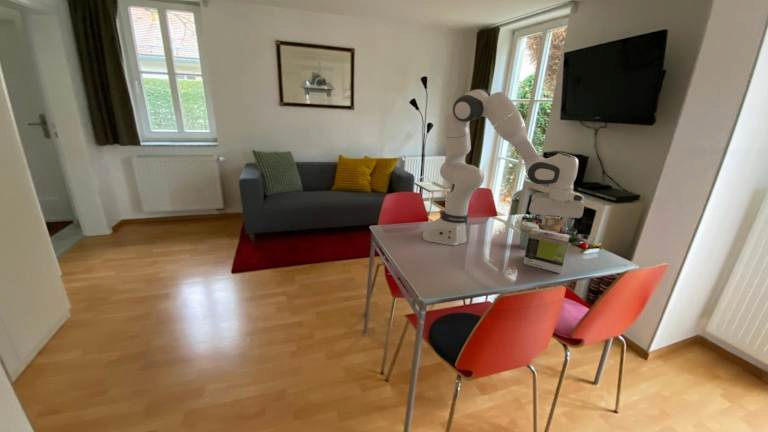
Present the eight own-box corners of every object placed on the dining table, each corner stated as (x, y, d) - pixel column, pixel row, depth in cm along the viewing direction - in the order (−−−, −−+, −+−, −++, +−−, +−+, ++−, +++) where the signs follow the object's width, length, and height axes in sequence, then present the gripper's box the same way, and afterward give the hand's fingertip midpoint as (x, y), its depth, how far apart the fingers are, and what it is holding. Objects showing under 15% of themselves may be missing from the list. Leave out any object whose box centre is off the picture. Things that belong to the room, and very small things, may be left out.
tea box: (562, 265, 141) (570, 234, 136) (560, 274, 133) (568, 242, 128) (526, 256, 149) (532, 226, 144) (522, 264, 140) (529, 233, 136)
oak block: (546, 230, 133) (549, 219, 132) (542, 226, 138) (545, 215, 136) (559, 232, 133) (562, 220, 131) (555, 227, 137) (557, 216, 136)
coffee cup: (520, 242, 165) (525, 220, 161) (537, 247, 159) (542, 225, 155) (513, 246, 159) (518, 223, 155) (530, 252, 153) (536, 228, 149)
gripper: (535, 193, 128) (528, 225, 133) (589, 197, 126) (580, 230, 131) (530, 189, 134) (524, 220, 139) (582, 193, 132) (573, 225, 136)
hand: (551, 225), depth 135 cm, fingers closed on oak block, 5 cm apart
